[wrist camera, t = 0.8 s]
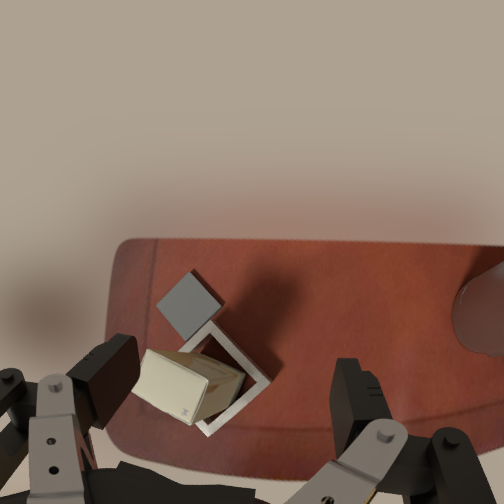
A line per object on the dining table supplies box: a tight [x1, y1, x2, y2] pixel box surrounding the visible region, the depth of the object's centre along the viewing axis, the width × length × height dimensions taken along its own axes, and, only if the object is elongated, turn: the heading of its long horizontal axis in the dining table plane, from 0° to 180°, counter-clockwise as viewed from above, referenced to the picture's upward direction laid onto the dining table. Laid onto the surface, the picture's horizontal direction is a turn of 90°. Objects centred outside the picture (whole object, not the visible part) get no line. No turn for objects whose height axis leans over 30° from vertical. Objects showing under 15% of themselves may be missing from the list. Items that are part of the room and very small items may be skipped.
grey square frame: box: [178, 320, 273, 437], centre depth 33 cm, size 10×10×2 cm
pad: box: [156, 272, 222, 341], centre depth 37 cm, size 6×6×1 cm
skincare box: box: [131, 349, 245, 425], centre depth 28 cm, size 6×4×12 cm
